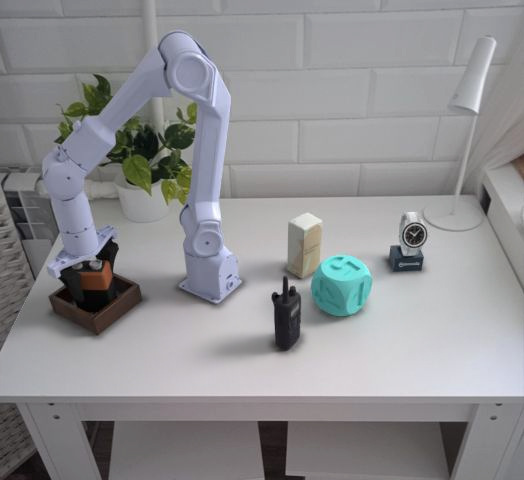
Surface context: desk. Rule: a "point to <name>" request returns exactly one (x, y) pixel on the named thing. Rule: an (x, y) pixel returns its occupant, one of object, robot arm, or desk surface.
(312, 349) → the desk surface
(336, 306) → the decorative dice
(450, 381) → the desk surface
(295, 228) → the box
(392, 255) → the watch
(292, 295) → the two-way radio
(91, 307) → the battery
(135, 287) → the brown square open frame
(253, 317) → the desk surface
